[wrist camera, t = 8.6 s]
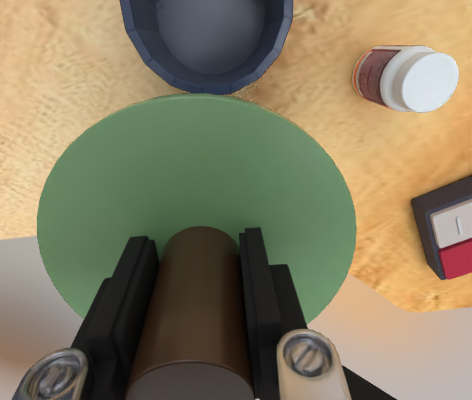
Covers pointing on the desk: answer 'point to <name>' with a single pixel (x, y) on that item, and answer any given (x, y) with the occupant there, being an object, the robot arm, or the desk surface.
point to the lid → (195, 229)
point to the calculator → (446, 228)
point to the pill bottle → (405, 77)
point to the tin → (208, 40)
